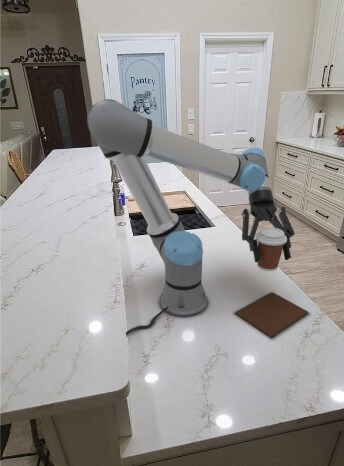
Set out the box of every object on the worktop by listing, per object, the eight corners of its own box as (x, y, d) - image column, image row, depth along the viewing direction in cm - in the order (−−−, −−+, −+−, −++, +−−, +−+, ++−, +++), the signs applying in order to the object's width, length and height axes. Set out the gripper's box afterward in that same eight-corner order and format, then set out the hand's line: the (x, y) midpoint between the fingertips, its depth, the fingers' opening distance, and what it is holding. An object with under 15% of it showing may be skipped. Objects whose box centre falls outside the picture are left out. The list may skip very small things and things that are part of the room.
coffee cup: (288, 270, 102) (294, 235, 97) (263, 275, 100) (268, 240, 94) (270, 257, 110) (275, 224, 104) (247, 262, 107) (251, 228, 102)
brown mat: (271, 338, 94) (271, 336, 93) (235, 313, 104) (235, 311, 103) (307, 313, 103) (308, 311, 103) (271, 293, 113) (272, 291, 113)
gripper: (286, 197, 111) (300, 260, 105) (224, 200, 109) (235, 265, 102) (296, 186, 104) (312, 253, 98) (230, 189, 102) (242, 259, 95)
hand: (273, 259), depth 100 cm, fingers closed on coffee cup, 9 cm apart
